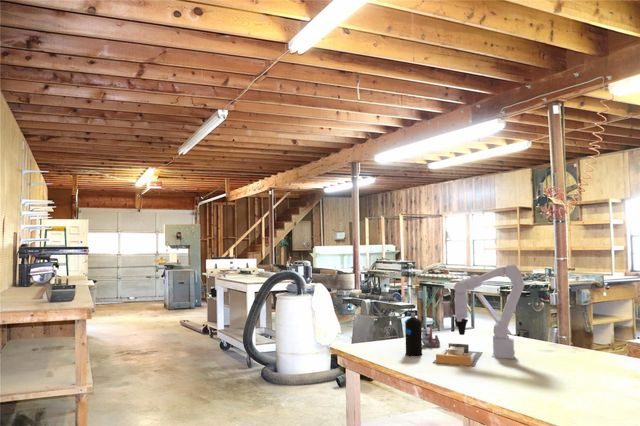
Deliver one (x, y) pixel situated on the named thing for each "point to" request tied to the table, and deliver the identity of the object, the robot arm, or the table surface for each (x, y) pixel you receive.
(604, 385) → the table surface
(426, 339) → the brake caliper
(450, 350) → the grey beige angular piece
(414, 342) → the aerosol can
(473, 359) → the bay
